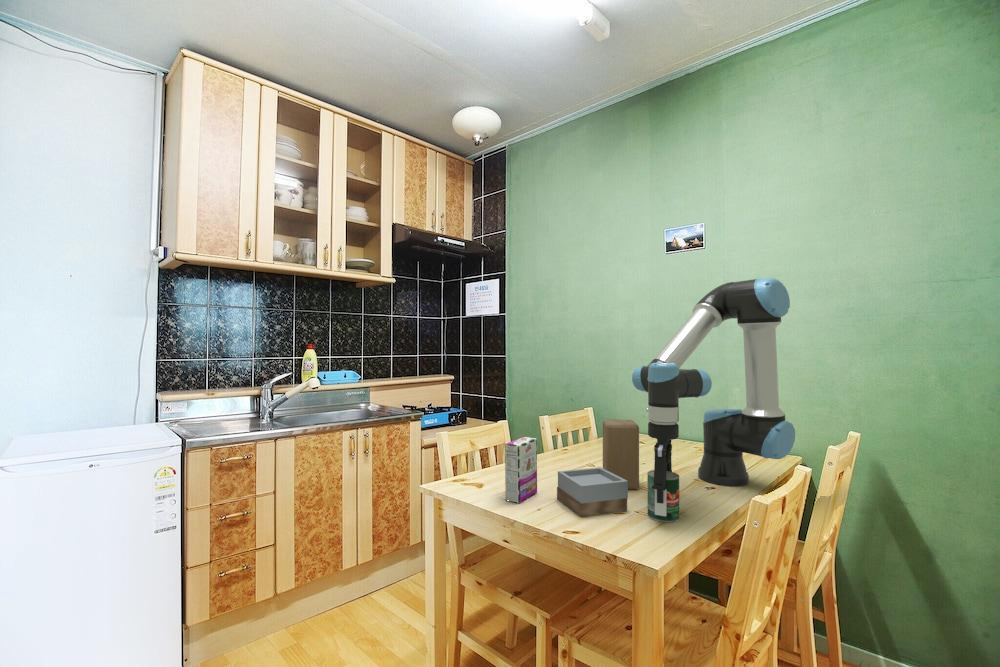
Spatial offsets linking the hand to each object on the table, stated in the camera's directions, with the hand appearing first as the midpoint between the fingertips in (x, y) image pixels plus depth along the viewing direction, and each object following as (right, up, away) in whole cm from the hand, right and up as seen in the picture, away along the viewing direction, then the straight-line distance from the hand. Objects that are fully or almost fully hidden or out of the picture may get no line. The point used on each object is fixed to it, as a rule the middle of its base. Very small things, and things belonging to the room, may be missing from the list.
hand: (663, 508), depth 118 cm
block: (-4, -3, +26) cm, 26 cm away
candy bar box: (-36, -2, +14) cm, 39 cm away
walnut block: (-17, -3, +8) cm, 19 cm away
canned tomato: (0, -2, 0) cm, 2 cm away
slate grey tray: (-17, +1, +8) cm, 19 cm away
